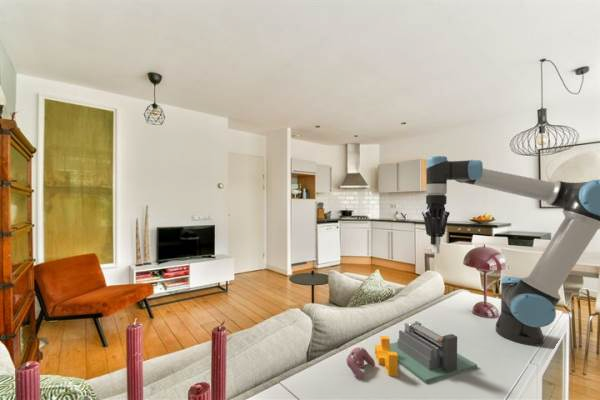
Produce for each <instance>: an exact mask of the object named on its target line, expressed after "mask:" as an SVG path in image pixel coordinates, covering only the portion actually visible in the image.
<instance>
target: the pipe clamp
mask: <svg viewBox="0 0 600 400" xmlns="http://www.w3.org/2000/svg"><path fill="white" fill-rule="evenodd" d="M379 342H380V344H379V345H378V344H376V345H375V346H374V355H375V358H376V360H377V363H378V365H379V366H384V367H385V370H386V373H387V375H388V377H398V370H399V369H398V364H399V363H398V355H397V353H396V352H391V351H390V344H391V342H390V338H389V336H388V335H386V336H385V335H380V341H379Z"/></svg>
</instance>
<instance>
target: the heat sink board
mask: <svg viewBox="0 0 600 400" xmlns="http://www.w3.org/2000/svg"><path fill="white" fill-rule="evenodd" d="M414 323H417V324H418V325H420V326H421V327H423V328H425V329H427V330H429V331H430V332H432V333H434V334H436V335H438V336H439V337H441V338H443V339H442V342H443V347H441V346H439V345H437V344H436V343H434V342H432V341H430V340H429V339H427V338H425V337H424V336H422V335H420V334H419V333H417V332H415V331H414V330H412V329H411V325H410V324H411V323H408V322H405V323H404V331H403V330H402V329H401V330H400V329H399V330H398V339H397V341H396V342H392V343H391V342H390V351H391V352H396V353H397V355H398V364H400V365H401V366H402V367H403V368H404V369H406V370H407V371H409V373H411V374H412V375H414V376H415V377H416V378H418V379H419V380H420V381H422V382H423V383H424V384H427V383H431V382H434V381H437V380H441V379H444V378H447V377H451V376H454V375H457V374H460V373H465V372H468V371H470V370H471V371H472V370H474V369H476V368H478V364H477V363H475V362H473V361H472V360H470V359H468V358H467V357H465V356H464V355H461V354H460V353H458V336H457V335H455V334H453V333H449V334H446V335H443V336H442V335H440V334H438V333H436V332H434V331H433V330H431V329H428V328H426V327H425V326H423V325H422V323H421V321H417V320H415V322H414Z"/></svg>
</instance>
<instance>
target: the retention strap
mask: <svg viewBox="0 0 600 400" xmlns="http://www.w3.org/2000/svg"><path fill="white" fill-rule="evenodd" d="M409 324H410V325H411V329H412V330H414V331H415V332H417V333H419V334H420V335H422V336H424V337H425V338H427V339H429V340H430V341H432V342H434V343H436V344H437V345H439V346H441V347H443V342H442V339H443V338H441V337H439V336H438V335H439V334H438V335H436V334H437V333H436V334H434V333H432V332H430V331H429V330H430V329H429V330H427V329H428V328H427V329H425V328H426V327H425V328H423V327H424V326H423V327H421V326H422V325H421V326H420V325H418V324H417V323H415V322H414V323H413V322H412V323H409Z"/></svg>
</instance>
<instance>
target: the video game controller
mask: <svg viewBox="0 0 600 400" xmlns="http://www.w3.org/2000/svg"><path fill="white" fill-rule="evenodd" d="M365 363H366V364H368V366H370V367H375V366H376V363H375V359H374V358H373V357H372V356H371V355H370V354H369V352H368V351H367V350H366V348H364V347H355V348H353V349H352V350H351V351H350V352H349V355H347V356H346V365H347V366H348V368H349V369H350V370H351V372H352V373H353V375H354V376H356V377H357V379H360V380H362V379H363V378H364V374H363V371H362V370H361V368H363V367H365Z"/></svg>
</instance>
